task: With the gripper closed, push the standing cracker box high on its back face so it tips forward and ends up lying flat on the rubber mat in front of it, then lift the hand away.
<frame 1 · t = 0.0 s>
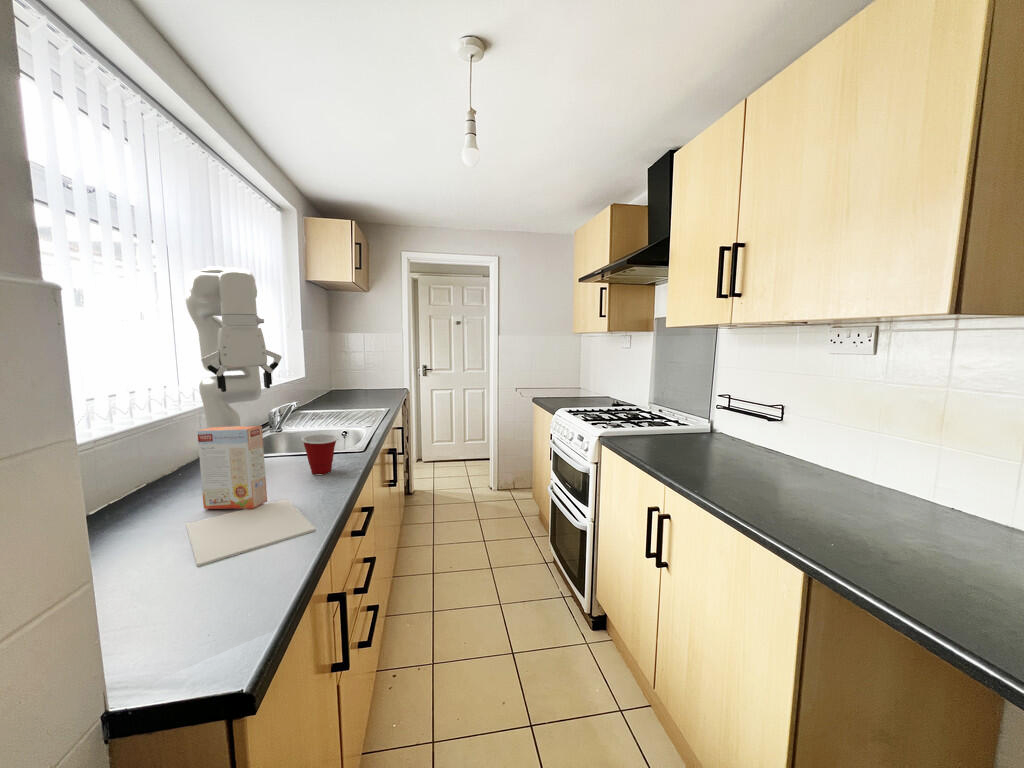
hand: (246, 389, 107), 31 cm above the worktop, tool pointing down, fingers open, 9 cm apart
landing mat: (249, 528, 98), on the worktop
cracker box: (236, 506, 110), on the worktop, touching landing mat
plastic cup: (322, 473, 137), on the worktop
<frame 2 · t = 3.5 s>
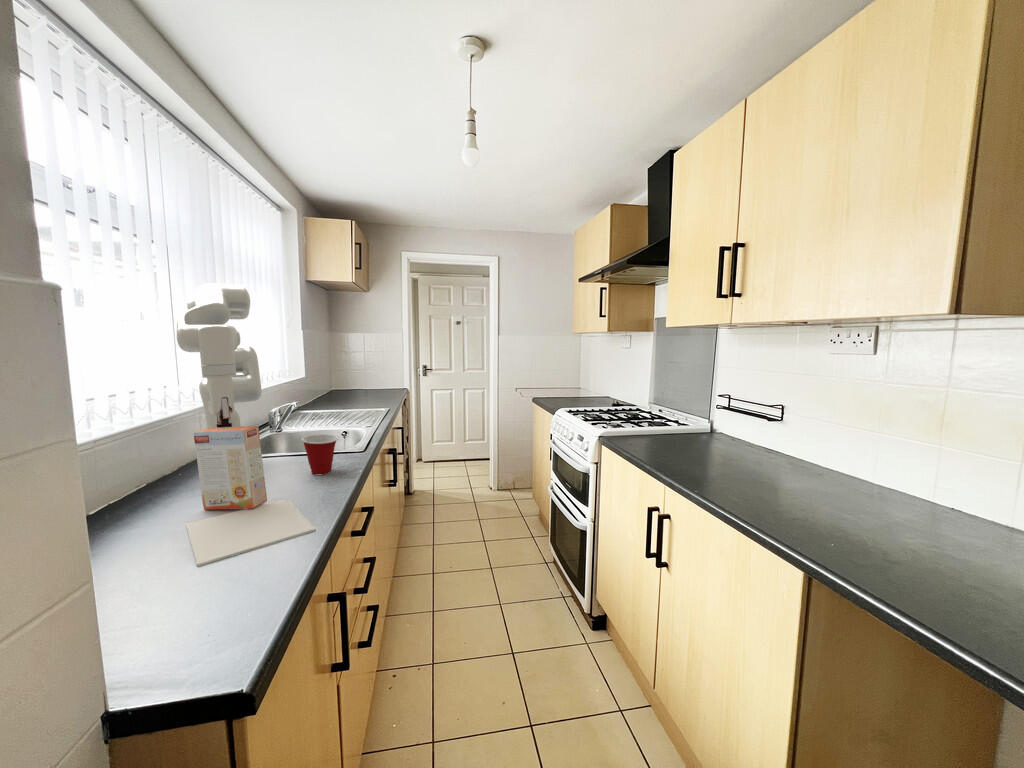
hand: (225, 437, 114), 17 cm above the worktop, tool pointing down, fingers closed
nothing on the worktop moved.
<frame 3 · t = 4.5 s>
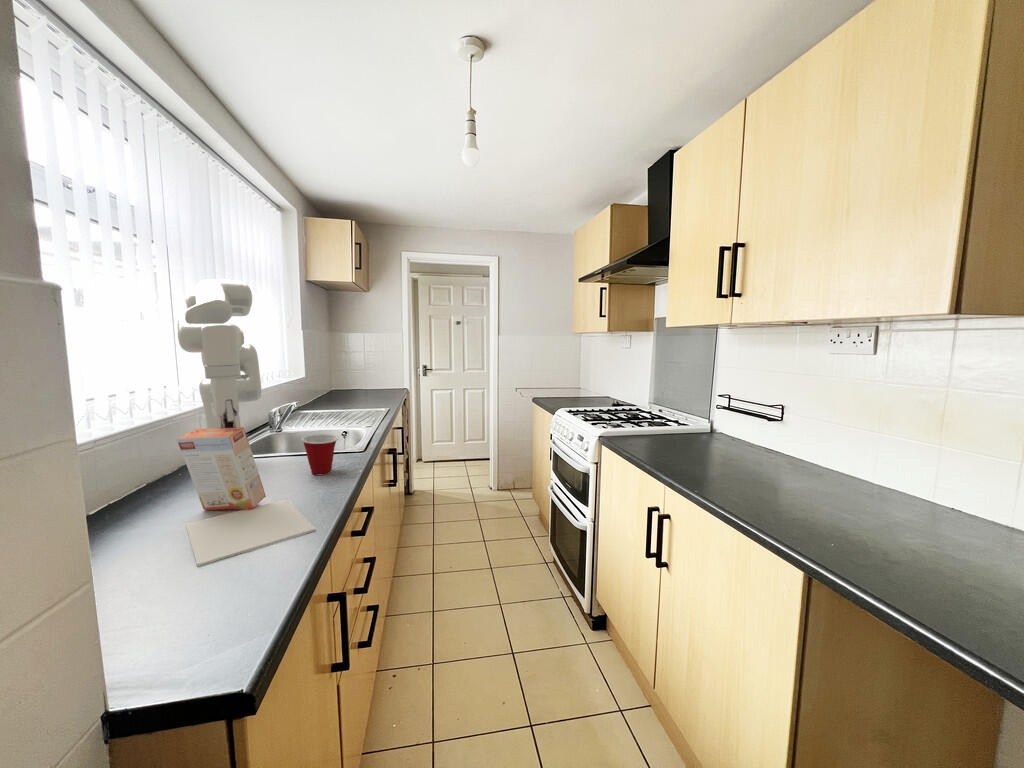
hand: (229, 441, 109), 17 cm above the worktop, tool pointing down, fingers closed
cracker box: (236, 503, 110), point 1 cm above the worktop, touching gripper, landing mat
everything else where it was.
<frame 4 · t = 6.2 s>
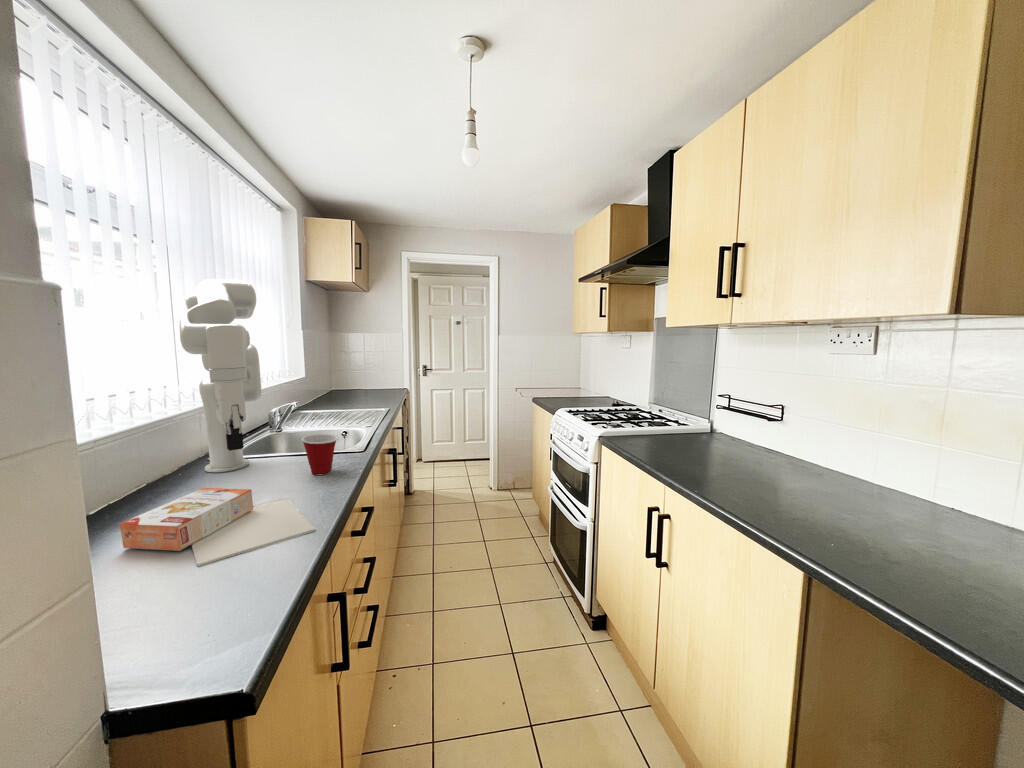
hand: (235, 448, 103), 17 cm above the worktop, tool pointing down, fingers closed
cracker box: (229, 497, 107), point 4 cm above the worktop, touching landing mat
everything else where it was.
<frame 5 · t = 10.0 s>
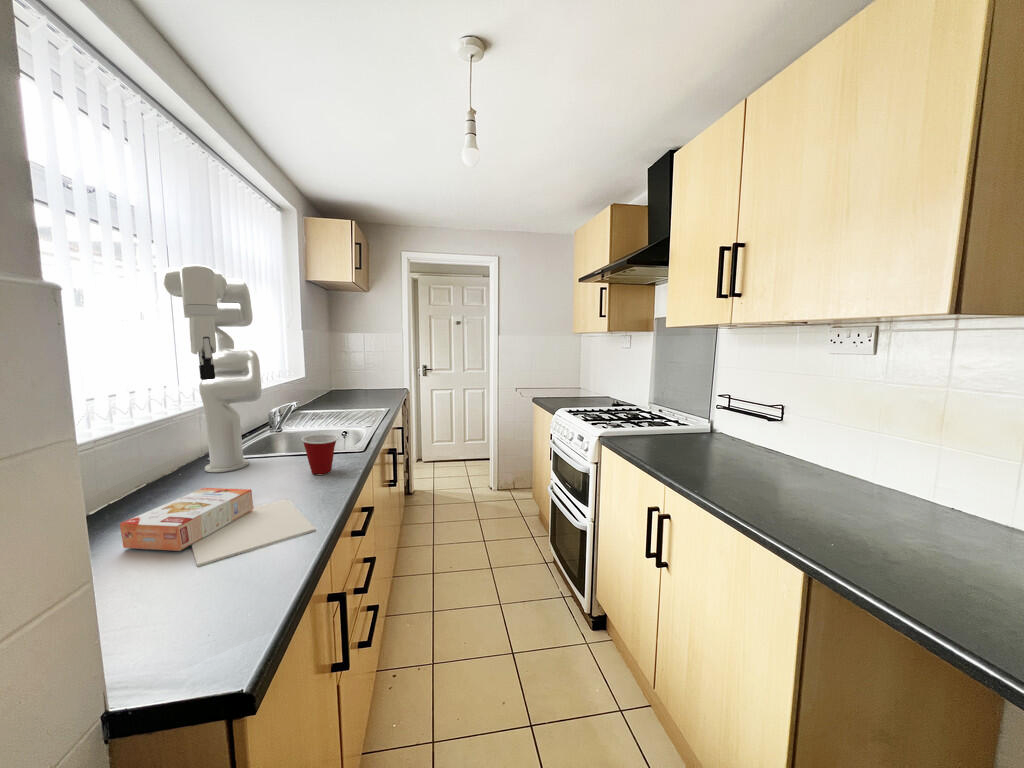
hand: (207, 379, 115), 33 cm above the worktop, tool pointing down, fingers closed
nothing on the worktop moved.
at the end: cracker box tilted 91°; cracker box touching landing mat; the gripper is holding nothing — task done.
